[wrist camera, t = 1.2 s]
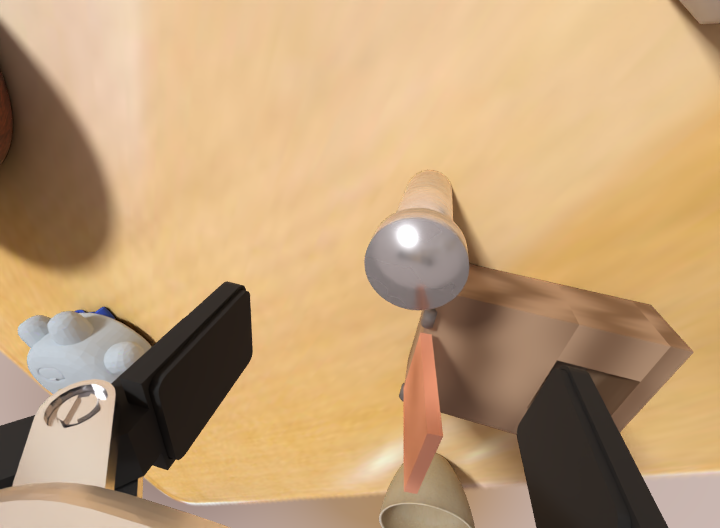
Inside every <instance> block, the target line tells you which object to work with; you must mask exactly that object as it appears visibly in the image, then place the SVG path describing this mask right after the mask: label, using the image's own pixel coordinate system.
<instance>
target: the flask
mask: <svg viewBox="0 0 720 528" xmlns="http://www.w3.org/2000/svg"><path fill="white" fill-rule="evenodd" d="M679 1H680V2H681V3H682V4H683V5H684V7H685V8H686V9H687V10H688V11H689V12H690V13H691V14H692V16H693V17H694V18H695V19H696V20H697V21H698V22H699V23H700V24H713V23H720V0H679Z"/></svg>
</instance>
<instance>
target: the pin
mask: <svg viewBox="0 0 720 528" xmlns="http://www.w3.org/2000/svg"><path fill="white" fill-rule="evenodd" d="M365 271H366V275H367V278H368V280H369V282H370V284H371V285H372V287H373V288H374V290H375V291H376V292H377V293H378V294H379V295H380V296H381V297H382V298H384V299H385V300H387V301H388V302H390V303H392V304H394V305H396V306H398V307H402V308H405V309H410V310H428V309H433V308H437V307H440V306H442V305H444V304H446V303H448V302H450V301H451V300H453V299H454V298H455V297H456V296H457V295H458V294H459V293H460V292H461V290H462V289H463V287H464V286H465V283H466V281H467V278H468V275H469V258H468V249H467V243H466V240H465V237H464V235H463V233H462V231H461V229H460V228H459V227H458V225H457V224H456V223H455V222H454V221H453V203H452V187H451V184H450V182H449V180H448V178H447V177H446V176H445V175H443V174H442V173H440V172H438V171H434V170H425V171H421V172H419V173H417V174H416V175H414V176H413V177H412V178H411V179H410V181H409V182H408V184H407V187H406V189H405V192H404V194H403V197H402V199H401V202H400V204H399V207H398V209H397V212H396V213H394V214H392V215H390V216H389V217H388V218H386V219H385V220H384V221H383V222H382V223H381V224H380V225H379V227H378V228H377V230H376V231H375V233H374V235H373V237H372V240H371V242H370V244H369V246H368V248H367V251H366V255H365Z"/></svg>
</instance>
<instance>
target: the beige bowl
mask: <svg viewBox="0 0 720 528" xmlns="http://www.w3.org/2000/svg"><path fill="white" fill-rule="evenodd" d="M379 522H380V525H381V527H382V528H475V526H474V522H473V518H472V514H471V510H470V507H469V504H468V501H467V498H466V495H465V493H464V490H463V488H462V486H461V484H460V481H459V479H458V477H457V476H456V474H455V472H454V470H453V469H452V467H451V465H450V464H449V462H448V461H447V460H446V459H445V458H444V457H442V456H441V455H439V454H437V453H435V455H434V457H433V460H432V462H431V464H430V466H429V468H428V471H427V473H426V475H425V477H424V480H423V482H422V484H421V486H420V489H419V491H418V493H417V494H414V493H409V492H404V463H403V464H402V465H401V467H400V468H399V470H398V471H397V473H396V474H395V476H394V478H393V480H392V482H391V484H390V486H389V488H388V490H387V493H386V495H385V498H384V501H383V504H382V507H381V511H380V515H379Z"/></svg>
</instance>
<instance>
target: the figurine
mask: <svg viewBox="0 0 720 528" xmlns="http://www.w3.org/2000/svg"><path fill="white" fill-rule="evenodd" d="M18 335H19V336H20V338H21V339H22V340H23V341H24V342H25V343H26V344H27V345H28V346H29V347H30V348H31V349H30V351H29V353H28V356H27V364H28V368H29V370H30V372H31V374H32V375H33V376H34V378H35V379H36V380H37V381H38V382H39V383H40V384H41V385H42V386H43V387H45V388H46V389H47V390H49V391H50V392H51V393H52V394H54V393H56V392H57V391H59V390H61V389H63V388H65V387H67V386H69V385H71V384H74V383H77V382H80V381H84V380H91V379H98V380H104V381H107V382H109V383H112V382H113V381H114V380H116V379H117V378H118V377H119V376H120V375H121V374H122V373H123V372H124V371H126V370H127V369H128V368H129V367H130V366H131V365H132V364H133V363H134V362H136V361H137V360H138V359H139V358H140V357H141V356H142V355H143V354H144V353H146V352H147V351H148V350H149V349H150V348H151V347H152V346H151V345H150V344H149V343H148V342H147V341H146V340H145V339H144V338H143V337H142V336H140V335H139V334H138V333H136V332H135V331H134V330H132V329H131V328H129V327H128V326H126V325H125V324H123V323H121V322H119V321H117V320H115V317H114V316H113V315H112V314H111V312H110V311H108V310H107V309H106V308H105V307H102V308H100V309H99V310H98V311H96V312H88V313H86V312H85V311H83V310H77V311H75V312H73V311H66V312H61V313H59V314H57V315H55V316H54V317H53V318H49V317H46V316H44V315H36V316H33V317H31V318H29V319H27V320H26V321H24V322H23V323H21V324H20V325H19V327H18Z"/></svg>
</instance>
